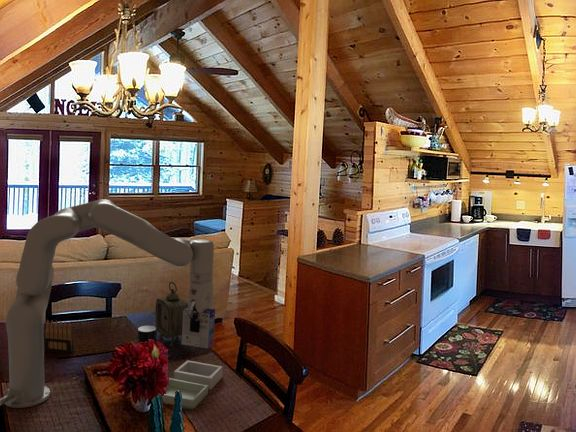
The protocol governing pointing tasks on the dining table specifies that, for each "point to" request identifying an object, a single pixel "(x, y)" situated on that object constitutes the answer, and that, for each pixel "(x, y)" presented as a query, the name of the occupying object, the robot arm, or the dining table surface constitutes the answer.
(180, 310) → the ring-top lantern
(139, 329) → the ink bottle
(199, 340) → the ink cartridge box
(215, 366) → the tray
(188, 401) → the parts tray
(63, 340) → the ammunition clip
